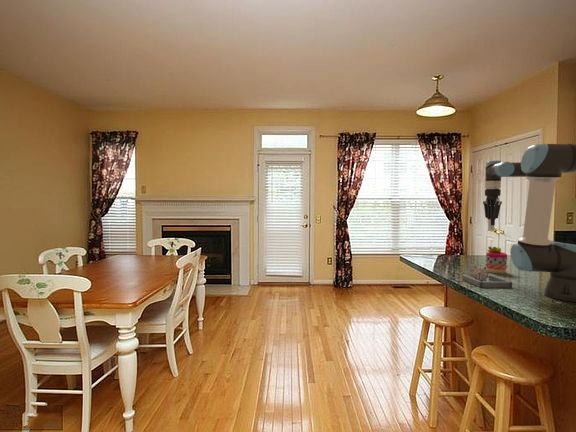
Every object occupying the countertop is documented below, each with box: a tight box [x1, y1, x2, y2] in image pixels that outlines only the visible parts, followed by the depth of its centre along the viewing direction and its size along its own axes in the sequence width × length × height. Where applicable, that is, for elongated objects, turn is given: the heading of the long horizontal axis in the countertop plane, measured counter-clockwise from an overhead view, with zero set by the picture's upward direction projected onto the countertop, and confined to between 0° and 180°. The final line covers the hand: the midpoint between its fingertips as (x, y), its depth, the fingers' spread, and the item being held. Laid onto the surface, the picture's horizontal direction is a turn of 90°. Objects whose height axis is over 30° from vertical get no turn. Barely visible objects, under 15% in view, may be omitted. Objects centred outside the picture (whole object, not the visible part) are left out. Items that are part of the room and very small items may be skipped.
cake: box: [485, 245, 508, 275], centre depth 191 cm, size 10×10×15 cm
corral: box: [461, 274, 513, 288], centre depth 163 cm, size 15×15×2 cm
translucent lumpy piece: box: [470, 264, 491, 282], centre depth 167 cm, size 9×8×10 cm
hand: (490, 230), depth 184 cm, fingers closed
